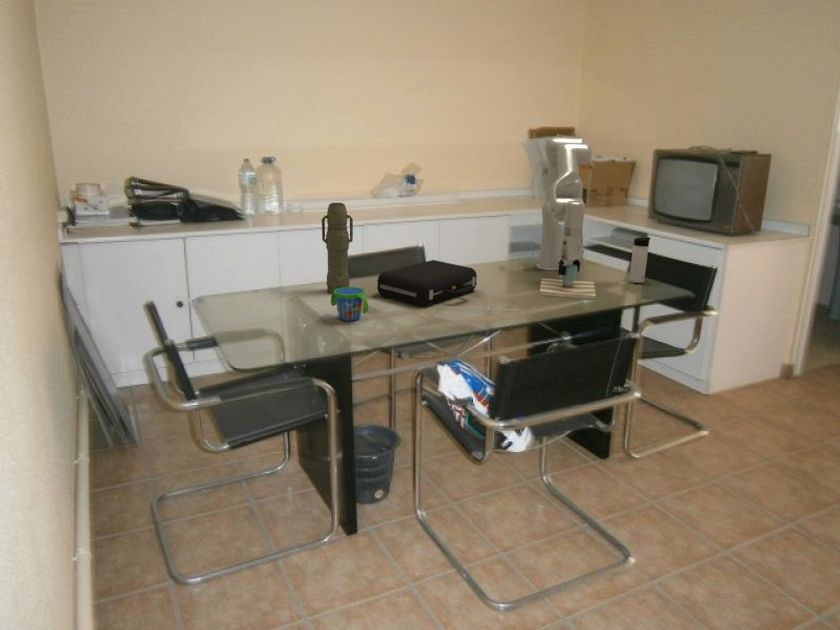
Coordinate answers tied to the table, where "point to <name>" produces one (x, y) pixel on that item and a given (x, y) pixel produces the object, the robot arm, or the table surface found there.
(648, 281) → the table surface
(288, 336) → the table surface
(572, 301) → the table surface
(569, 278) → the teal cube
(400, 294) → the briefcase
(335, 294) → the snack cup
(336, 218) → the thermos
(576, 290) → the post board
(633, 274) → the travel mug
